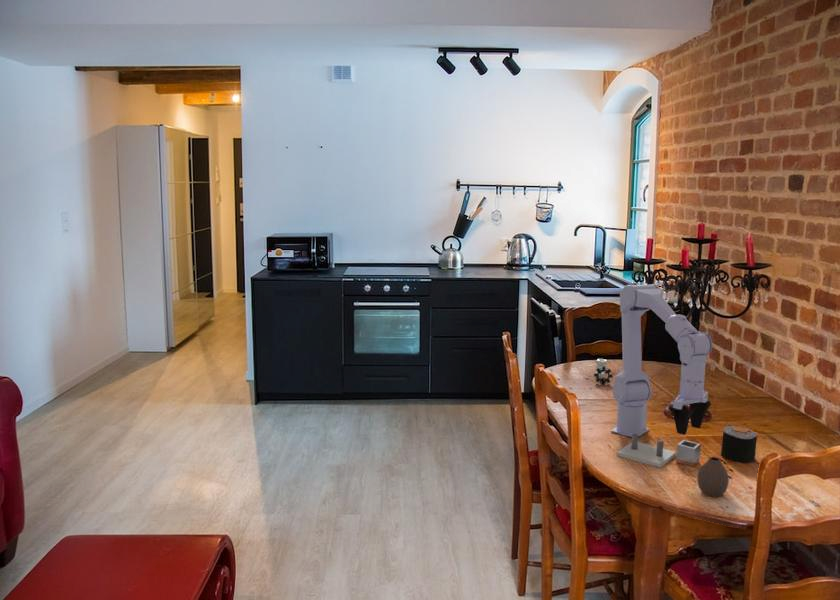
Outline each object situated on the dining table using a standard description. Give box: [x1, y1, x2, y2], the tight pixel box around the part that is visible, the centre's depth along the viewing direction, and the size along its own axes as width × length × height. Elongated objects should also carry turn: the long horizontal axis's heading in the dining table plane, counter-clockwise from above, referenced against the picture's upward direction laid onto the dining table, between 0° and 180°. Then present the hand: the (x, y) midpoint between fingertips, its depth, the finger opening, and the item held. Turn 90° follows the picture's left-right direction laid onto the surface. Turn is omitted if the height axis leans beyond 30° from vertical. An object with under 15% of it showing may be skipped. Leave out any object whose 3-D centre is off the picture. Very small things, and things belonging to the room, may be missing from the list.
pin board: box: [616, 434, 677, 468], centre depth 194 cm, size 11×12×5 cm
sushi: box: [720, 425, 758, 464], centre depth 194 cm, size 8×8×8 cm
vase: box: [696, 456, 730, 498], centre depth 172 cm, size 7×7×9 cm
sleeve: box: [675, 439, 702, 468], centre depth 190 cm, size 5×5×5 cm
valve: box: [593, 358, 614, 385], centre depth 265 cm, size 7×7×12 cm
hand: (688, 430), depth 187 cm, fingers open, 7 cm apart
